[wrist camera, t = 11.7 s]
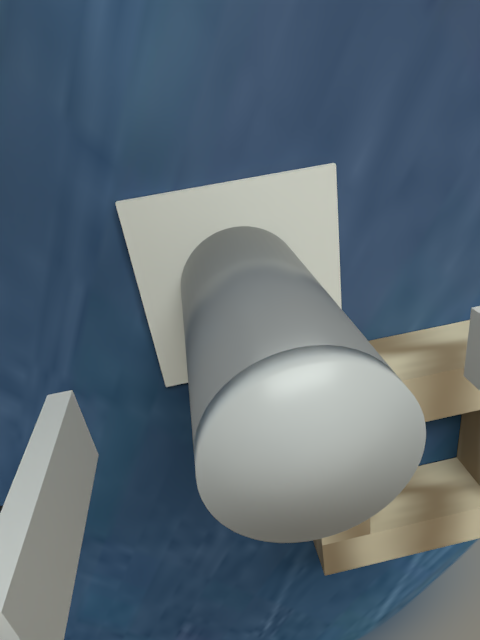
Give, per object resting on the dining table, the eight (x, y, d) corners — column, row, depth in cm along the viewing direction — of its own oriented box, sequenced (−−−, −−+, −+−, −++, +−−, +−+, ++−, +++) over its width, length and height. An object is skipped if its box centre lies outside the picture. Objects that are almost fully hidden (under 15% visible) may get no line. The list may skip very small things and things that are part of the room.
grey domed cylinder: (193, 348, 23) (217, 563, 12) (168, 238, 20) (172, 393, 9) (304, 326, 23) (420, 515, 13) (295, 215, 20) (433, 339, 10)
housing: (306, 521, 31) (325, 575, 27) (289, 357, 25) (310, 400, 21) (491, 478, 32) (532, 525, 28) (521, 309, 25) (579, 342, 22)
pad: (165, 382, 24) (165, 387, 24) (116, 201, 19) (115, 203, 19) (340, 346, 25) (343, 350, 24) (332, 163, 20) (336, 164, 20)
